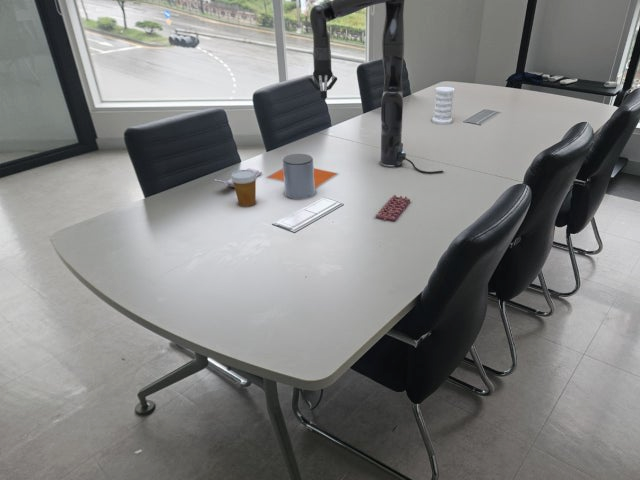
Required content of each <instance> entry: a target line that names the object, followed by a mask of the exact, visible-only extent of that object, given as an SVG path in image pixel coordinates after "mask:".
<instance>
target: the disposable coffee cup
mask: <svg viewBox="0 0 640 480" xmlns="http://www.w3.org/2000/svg"><path fill="white" fill-rule="evenodd" d="M257 177H258V176H256V174H255V172H254V171H251V170H246V169H239V170H235V171H233V172H232V173H231V176H230V179H231V180H232V181H233V184H234V187H233V188H234V191H235V194H236V199H237V201H238V205H239V206H240V207H252V206H254V205H256V200H257V199H256V197H257V196H256V193H257V190H256V189H257V188H256V185H257V183H256V182H257Z"/></svg>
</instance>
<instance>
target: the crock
mask: <svg viewBox="0 0 640 480" xmlns="http://www.w3.org/2000/svg"><path fill="white" fill-rule="evenodd" d="M281 161H282V162H281V163H282V169H283V174H284V181H283V183H284V185H283V186H284V194H285V196H286V197H287V198H289V199H292V200H302V199H308V198H311V197H313V196H314V195H315V194H316V187H315V182H314V169H315V167H314V166H315V165H314V158H313V157H312V156H311V155H310V154H306V153H291V154H287V155H285V156H284V157H283V159H282V160H281Z"/></svg>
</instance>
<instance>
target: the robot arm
mask: <svg viewBox="0 0 640 480" xmlns="http://www.w3.org/2000/svg"><path fill="white" fill-rule="evenodd" d="M379 4H384V6H385V7H384V8H385V17H384V23H383V29H382V33H381V34H382V35H381V59H382V66H383V67H382V68H383V72H384V82H383V83H384V84H383V92H382V97H381V102H380V122H381V123H380V125H381V126H380V160H379V161H380V163H379V164H380V165H381V166H383V167H386V168H398V167H400V165H402V164H403V162H404V161H407V162H408V163H410V164H411V166H412V167H413V168H414V170H416V171H417V172H419V173H423V174H440V173H444V170H436V171H435V170H434V171H427V170H421V169H419V168H417V166H416V165H415V164H414V162H413V161H411V160H410V159H408V158H407V154H406V153H405V152H404V144H403V142H402V136H403V135H402V134H403V133H402V132H403V111H404V110H403V109H404V93H403V92H404V91H403V82H402V81H403V79H402V77H403V76H402V75H403V69H404V60H405V59H404V58H405V19H404V12H405V0H330V1H327V2H324V3H320V4H317V5H314V6H313V7H312V8H311V9H310V12H309V23H310V28H311V32H312V43H313V47H312V57H313V72H312V75H311V76H309V77H308V81H309V82H310V83H311V85H312V86H313V87H314V88H315V89H316V90H317V91H319V93H320V94H319V95H320V96H319V97H320V99H321V100H322V101H326V99H327V98H328V91H330V90H332V88H333V86H334V85H335V84H336V82H337V81H338V77H337V76H336V75H334V73H333V70H332V51H331V37H330V36H331V35H330V32H329V31H328V25H327V23H328V22H332V21H334V20H336V19H338V18H343V17H346V16H350V15H352V14H354V13H357V12H359V11H361V10H364V9H365V8H368V7H371V6H375V5H379ZM315 80H316V81H317V82H316V81H315ZM330 80H331V81H330ZM329 82H330V83H329ZM317 83H319V85H318V84H317ZM328 83H329V84H328Z"/></svg>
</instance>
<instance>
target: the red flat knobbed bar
mask: <svg viewBox="0 0 640 480" xmlns="http://www.w3.org/2000/svg"><path fill="white" fill-rule="evenodd" d="M410 202H411V199H410V198H408V196H404V197H403V195H400V196H397V195H396V194H394V195H392V197H391V198H390V199H389V200H388V202H386V203H385V204H384V205H383V207H382V208H381V209H380V211H378V213H377V214H375V218H376V219H378V220H383V221H390V222H396V220H397V219H398V218H399V216H400V215H402V213H403V212H404V210H405V209H406V208H407V206H408V205H409V204H410Z"/></svg>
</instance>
